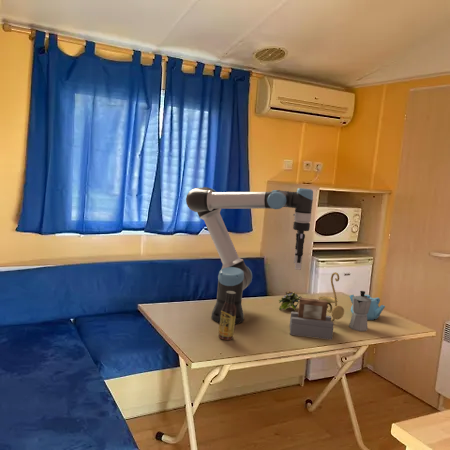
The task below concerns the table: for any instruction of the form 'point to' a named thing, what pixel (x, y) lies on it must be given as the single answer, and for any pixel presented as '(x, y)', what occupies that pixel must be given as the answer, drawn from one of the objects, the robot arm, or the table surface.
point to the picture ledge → (311, 327)
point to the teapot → (371, 308)
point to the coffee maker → (360, 312)
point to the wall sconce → (337, 310)
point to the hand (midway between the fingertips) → (297, 266)
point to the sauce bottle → (228, 317)
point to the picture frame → (312, 309)
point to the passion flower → (289, 300)
